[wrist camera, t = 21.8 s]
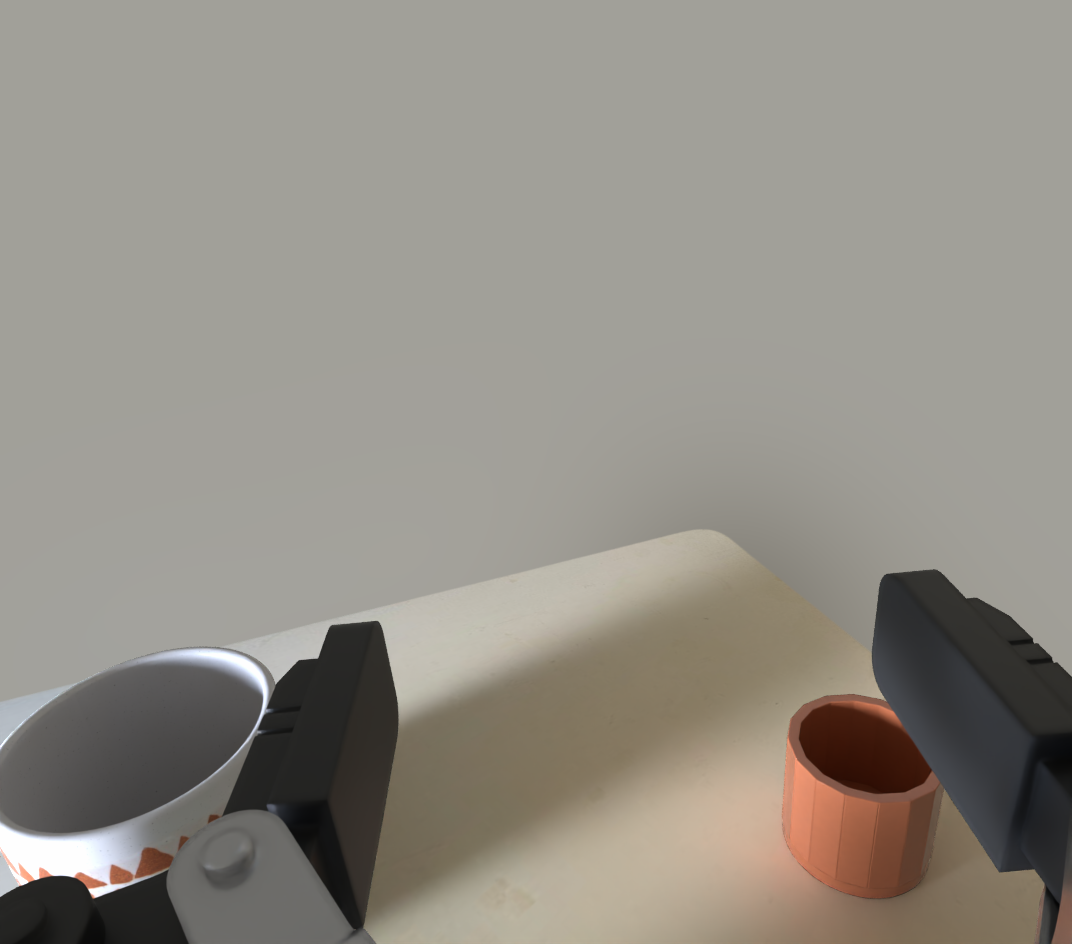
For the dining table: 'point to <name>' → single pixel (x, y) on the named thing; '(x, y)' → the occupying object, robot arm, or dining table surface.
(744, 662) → the dining table surface
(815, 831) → the crock
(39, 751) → the planter
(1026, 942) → the dining table surface
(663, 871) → the dining table surface
